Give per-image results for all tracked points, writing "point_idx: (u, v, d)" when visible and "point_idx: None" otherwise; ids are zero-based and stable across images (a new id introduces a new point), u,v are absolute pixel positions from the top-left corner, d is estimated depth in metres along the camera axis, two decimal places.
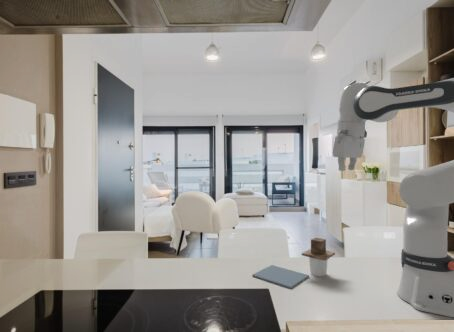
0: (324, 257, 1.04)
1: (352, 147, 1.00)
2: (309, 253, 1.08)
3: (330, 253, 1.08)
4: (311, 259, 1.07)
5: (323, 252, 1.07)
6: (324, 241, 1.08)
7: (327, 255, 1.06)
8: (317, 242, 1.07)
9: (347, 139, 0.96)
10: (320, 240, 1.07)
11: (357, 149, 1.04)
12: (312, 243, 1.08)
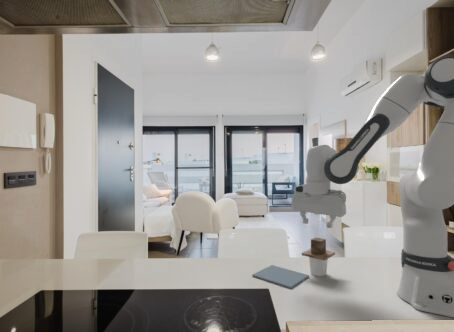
0: (324, 257, 1.04)
1: None
2: (309, 253, 1.08)
3: (330, 253, 1.08)
4: (311, 259, 1.07)
5: (323, 252, 1.07)
6: (324, 241, 1.08)
7: (327, 255, 1.06)
8: (317, 242, 1.07)
9: None
10: (320, 240, 1.07)
11: None
12: (312, 243, 1.08)
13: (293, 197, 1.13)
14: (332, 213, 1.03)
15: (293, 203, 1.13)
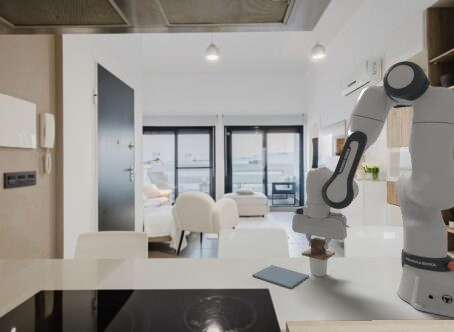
0: (324, 257, 1.04)
1: None
2: (309, 253, 1.08)
3: (330, 253, 1.08)
4: (311, 259, 1.07)
5: (323, 252, 1.07)
6: (324, 241, 1.08)
7: (327, 255, 1.06)
8: (317, 242, 1.07)
9: None
10: (320, 240, 1.07)
11: None
12: (312, 243, 1.08)
13: (294, 219, 1.13)
14: (333, 236, 1.03)
15: (294, 225, 1.13)
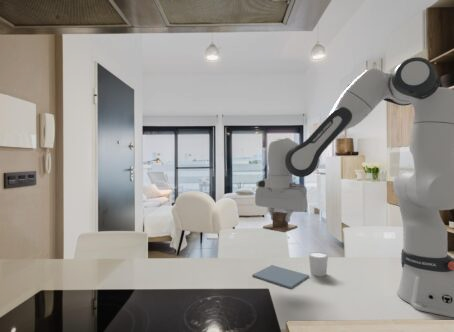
0: (284, 229, 1.01)
1: None
2: (270, 226, 1.05)
3: (292, 226, 1.05)
4: (311, 259, 1.07)
5: (285, 225, 1.04)
6: (286, 214, 1.05)
7: (288, 228, 1.03)
8: (278, 214, 1.04)
9: None
10: (281, 213, 1.04)
11: None
12: (274, 216, 1.05)
13: (256, 192, 1.10)
14: (293, 208, 1.00)
15: (256, 198, 1.10)
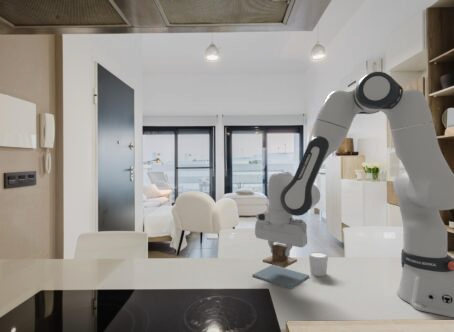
0: (284, 264, 1.01)
1: None
2: (270, 260, 1.05)
3: (292, 260, 1.05)
4: (311, 259, 1.07)
5: (284, 259, 1.05)
6: (286, 248, 1.05)
7: (288, 262, 1.03)
8: (278, 249, 1.04)
9: None
10: (281, 246, 1.05)
11: None
12: (273, 249, 1.05)
13: (256, 225, 1.10)
14: (293, 243, 1.00)
15: (256, 231, 1.10)
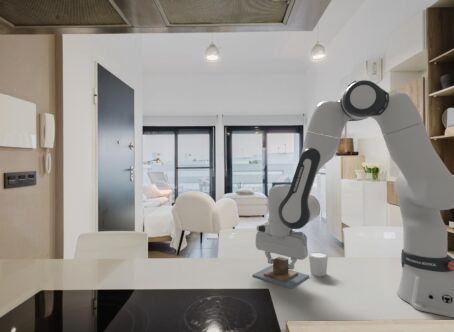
0: (285, 278, 1.01)
1: None
2: (271, 273, 1.05)
3: (292, 273, 1.05)
4: (311, 259, 1.07)
5: (285, 272, 1.05)
6: (286, 261, 1.05)
7: (289, 276, 1.03)
8: (279, 262, 1.04)
9: None
10: (282, 260, 1.05)
11: None
12: (274, 263, 1.05)
13: (257, 236, 1.10)
14: (293, 255, 1.00)
15: (257, 242, 1.10)
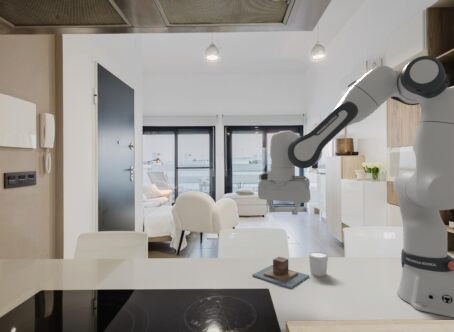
0: (285, 278, 1.01)
1: None
2: (271, 273, 1.05)
3: (292, 273, 1.05)
4: (311, 259, 1.07)
5: (285, 272, 1.05)
6: (286, 261, 1.05)
7: (289, 276, 1.03)
8: (279, 262, 1.04)
9: None
10: (282, 260, 1.05)
11: None
12: (274, 263, 1.05)
13: (259, 185, 1.10)
14: (296, 199, 1.01)
15: (259, 191, 1.11)
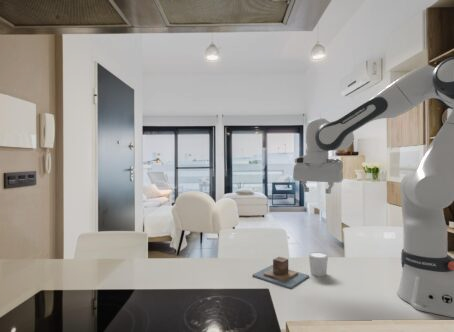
0: (285, 278, 1.01)
1: None
2: (271, 273, 1.05)
3: (292, 273, 1.05)
4: (311, 259, 1.07)
5: (285, 272, 1.05)
6: (286, 261, 1.05)
7: (289, 276, 1.03)
8: (279, 262, 1.04)
9: None
10: (282, 260, 1.05)
11: None
12: (274, 263, 1.05)
13: (294, 168, 1.23)
14: (330, 179, 1.13)
15: (294, 174, 1.24)
